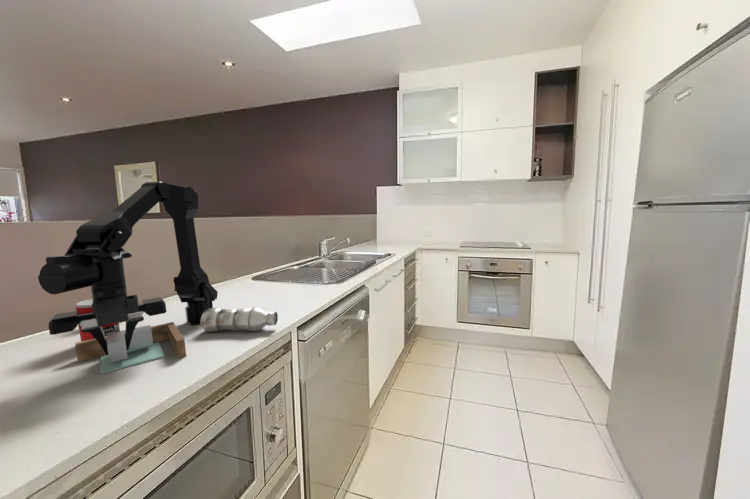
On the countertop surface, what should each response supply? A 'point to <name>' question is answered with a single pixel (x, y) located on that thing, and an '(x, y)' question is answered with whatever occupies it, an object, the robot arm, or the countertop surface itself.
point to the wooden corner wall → (159, 334)
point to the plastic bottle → (237, 319)
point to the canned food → (86, 308)
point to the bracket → (118, 343)
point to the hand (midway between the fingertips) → (117, 352)
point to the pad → (133, 358)
